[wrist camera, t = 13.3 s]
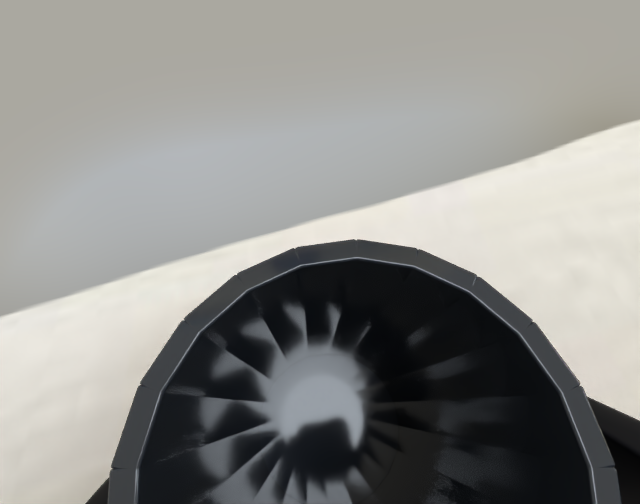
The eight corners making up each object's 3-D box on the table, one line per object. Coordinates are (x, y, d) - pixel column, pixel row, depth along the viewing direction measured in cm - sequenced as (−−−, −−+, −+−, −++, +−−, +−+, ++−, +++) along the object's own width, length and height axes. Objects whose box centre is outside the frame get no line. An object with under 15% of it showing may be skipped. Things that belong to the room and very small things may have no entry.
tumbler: (366, 551, 14) (571, 1099, 3) (223, 463, 15) (-22, 618, 4) (425, 389, 17) (658, 354, 5) (297, 323, 18) (274, 182, 7)
